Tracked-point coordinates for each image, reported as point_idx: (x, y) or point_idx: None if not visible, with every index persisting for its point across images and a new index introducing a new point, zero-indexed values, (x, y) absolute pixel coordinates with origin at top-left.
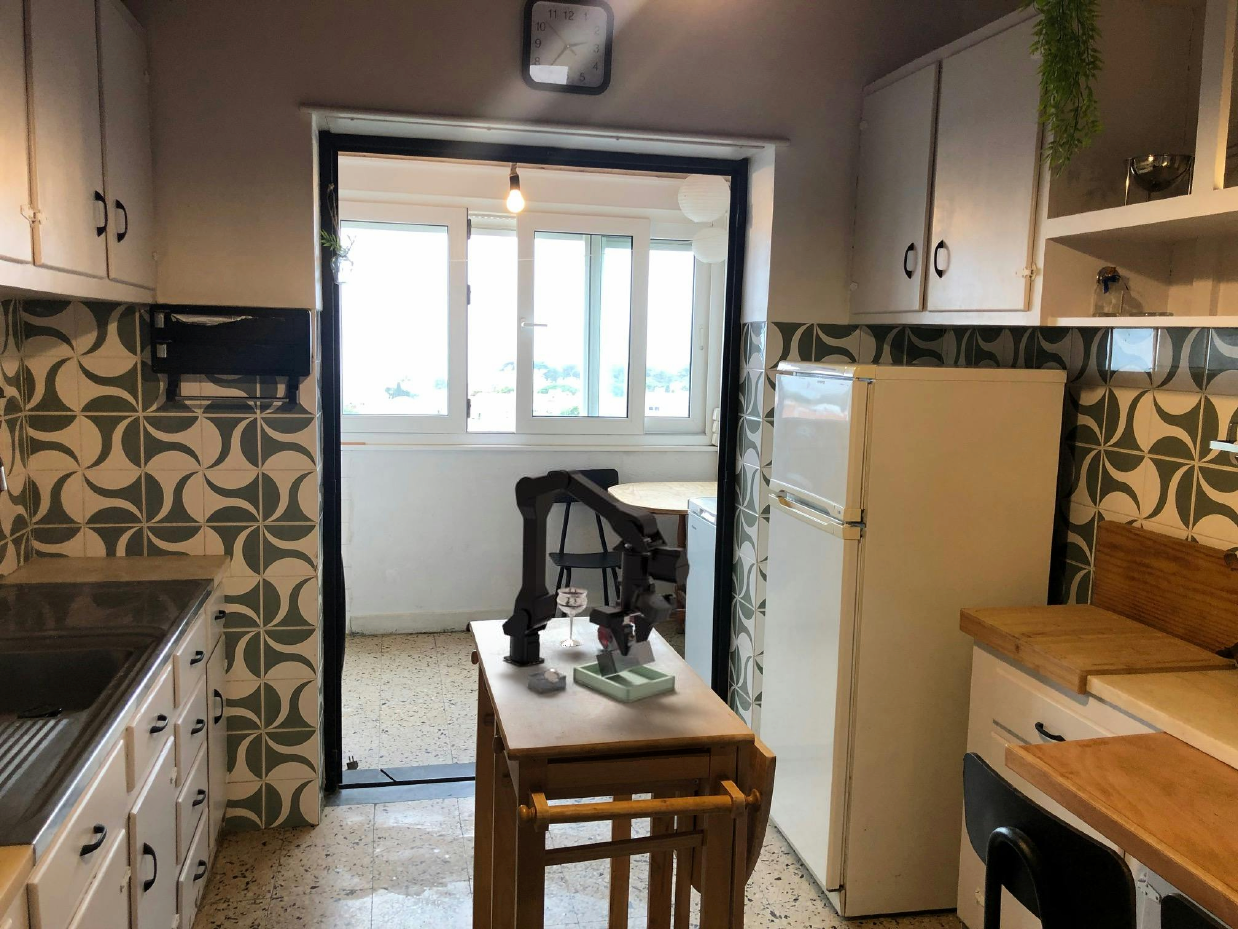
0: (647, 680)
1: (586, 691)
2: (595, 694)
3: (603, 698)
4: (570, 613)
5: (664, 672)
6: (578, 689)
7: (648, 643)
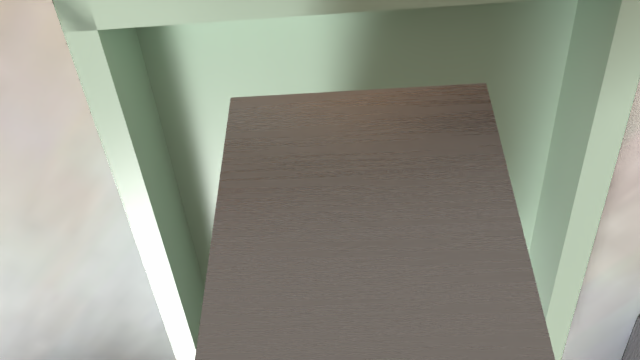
0: (215, 166)
1: (606, 235)
2: (611, 179)
3: (637, 105)
4: None
5: (97, 116)
6: (610, 273)
7: (236, 326)
